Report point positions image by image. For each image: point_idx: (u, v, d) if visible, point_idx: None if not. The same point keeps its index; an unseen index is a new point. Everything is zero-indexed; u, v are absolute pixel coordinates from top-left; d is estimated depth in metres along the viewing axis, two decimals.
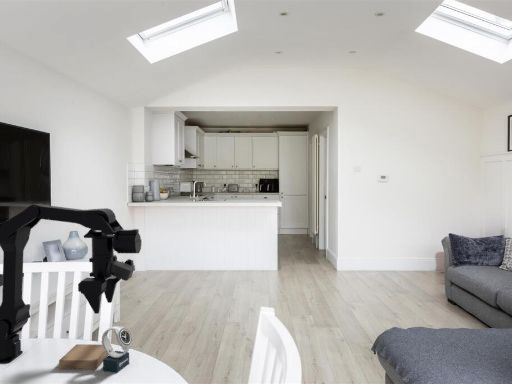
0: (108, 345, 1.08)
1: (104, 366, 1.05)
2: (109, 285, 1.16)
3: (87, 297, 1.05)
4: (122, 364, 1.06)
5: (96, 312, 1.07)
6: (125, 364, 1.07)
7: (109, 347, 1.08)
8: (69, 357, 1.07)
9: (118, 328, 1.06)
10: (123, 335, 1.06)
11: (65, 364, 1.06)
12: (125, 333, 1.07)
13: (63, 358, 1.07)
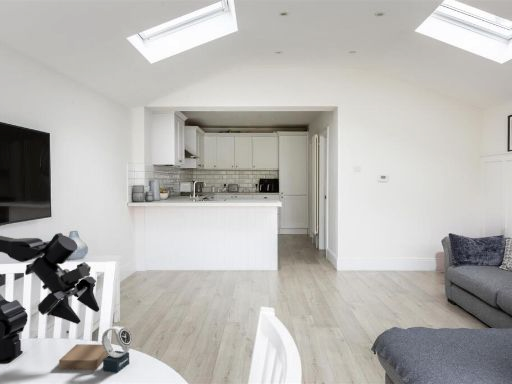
0: (108, 345, 1.08)
1: (104, 366, 1.05)
2: (87, 298, 1.13)
3: (58, 315, 1.02)
4: (122, 364, 1.06)
5: (77, 322, 1.03)
6: (125, 364, 1.07)
7: (109, 347, 1.08)
8: (69, 357, 1.07)
9: (118, 328, 1.06)
10: (123, 335, 1.06)
11: (65, 364, 1.06)
12: (125, 333, 1.07)
13: (63, 358, 1.07)
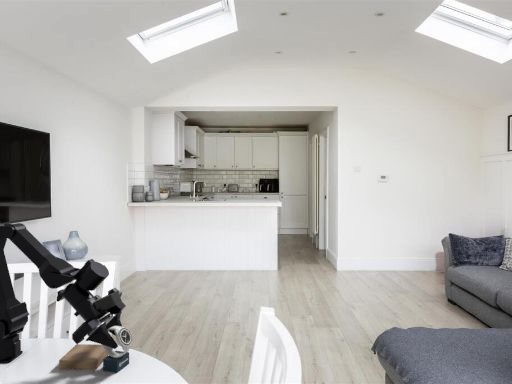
0: None
1: (104, 366, 1.05)
2: None
3: (96, 340, 1.03)
4: (123, 364, 1.06)
5: (115, 347, 1.04)
6: (125, 364, 1.07)
7: (109, 347, 1.08)
8: (69, 357, 1.07)
9: (118, 328, 1.07)
10: (123, 335, 1.06)
11: (65, 364, 1.06)
12: (125, 333, 1.07)
13: (63, 358, 1.07)
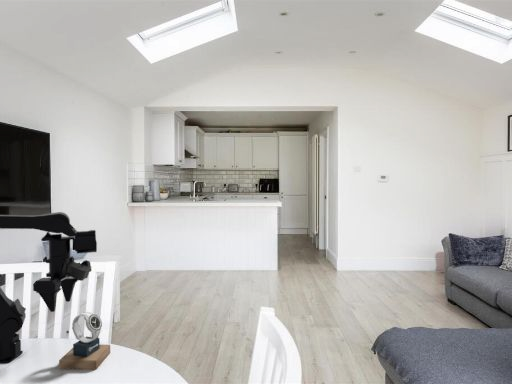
0: (78, 331, 1.11)
1: (74, 351, 1.08)
2: (68, 285, 1.23)
3: (42, 296, 1.11)
4: (92, 349, 1.10)
5: (52, 310, 1.13)
6: (95, 349, 1.11)
7: (79, 333, 1.11)
8: (69, 357, 1.07)
9: (88, 314, 1.10)
10: (93, 321, 1.09)
11: (65, 364, 1.06)
12: (95, 319, 1.10)
13: (63, 358, 1.07)
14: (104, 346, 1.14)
